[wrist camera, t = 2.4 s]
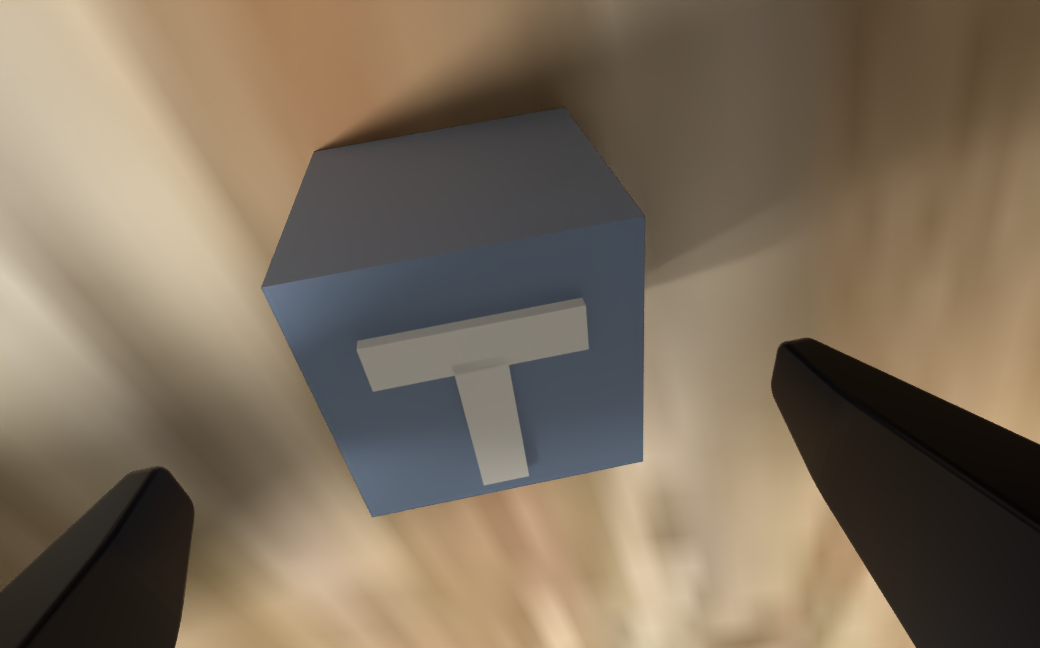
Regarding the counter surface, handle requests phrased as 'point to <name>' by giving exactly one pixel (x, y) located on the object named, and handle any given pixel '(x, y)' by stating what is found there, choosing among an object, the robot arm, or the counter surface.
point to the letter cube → (467, 308)
